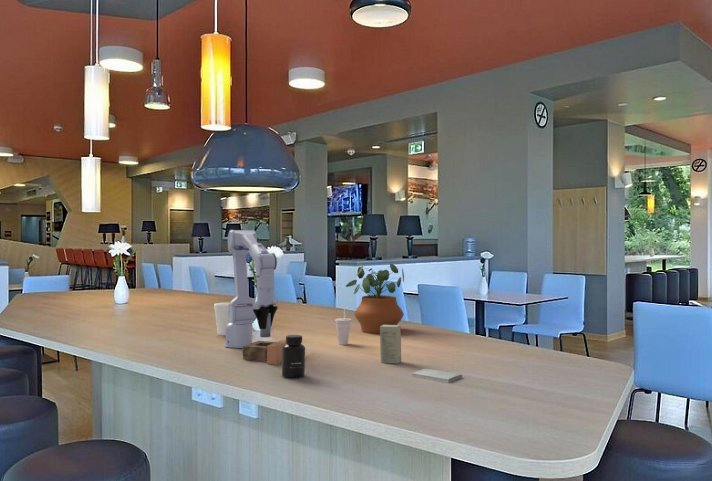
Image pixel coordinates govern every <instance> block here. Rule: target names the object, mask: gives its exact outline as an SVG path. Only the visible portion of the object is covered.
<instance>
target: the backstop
mask: <svg viewBox="0 0 712 481" xmlns="http://www.w3.org/2000/svg"><path fill="white" fill-rule="evenodd" d="M275 342H276V343H273V344H270V345H268V346H267V361H266V363H267V365H274V366H276V365H278V364H280V363H282V348H283V346H284V345H286V344H287V343H286V338H284V339H281V340H279V341H275Z"/></svg>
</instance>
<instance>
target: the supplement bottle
mask: <svg viewBox="0 0 712 481" xmlns="http://www.w3.org/2000/svg"><path fill="white" fill-rule="evenodd" d="M285 339H286V343H287V344H286V345H284V346H283V348H282V362H281V376H282V377H283V378H285V379H293V380H294V379H301V378H303V377H305V374H306V347H305V345H304V344H302V343H303V335H302V334H301V335H300V334H287V335H286V336H285Z"/></svg>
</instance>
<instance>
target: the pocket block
mask: <svg viewBox="0 0 712 481" xmlns="http://www.w3.org/2000/svg"><path fill="white" fill-rule="evenodd" d="M276 342H277V341H270V340H269V341H268V340H265V341H264V340H256V341H254V342H252V343H251V344H248V345H245V346H243V348H242V360H243V361H244V360H245V361H259V362H267V346H268V345H270V344H273V343H276Z"/></svg>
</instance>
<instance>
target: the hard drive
mask: <svg viewBox="0 0 712 481" xmlns="http://www.w3.org/2000/svg"><path fill="white" fill-rule="evenodd" d="M411 377H413V378H414V377H416V378H420V379H426V380H432V381H437V382H441V383H448V384H449V383H451V382H454V381H457V380H459V379H462V378H463V375H462V374H461V373H454V372H451V371H450V372H448V371H443V370H437V369H432V368H423V369H420V370H417V371H413V372H412V373H411Z"/></svg>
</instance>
